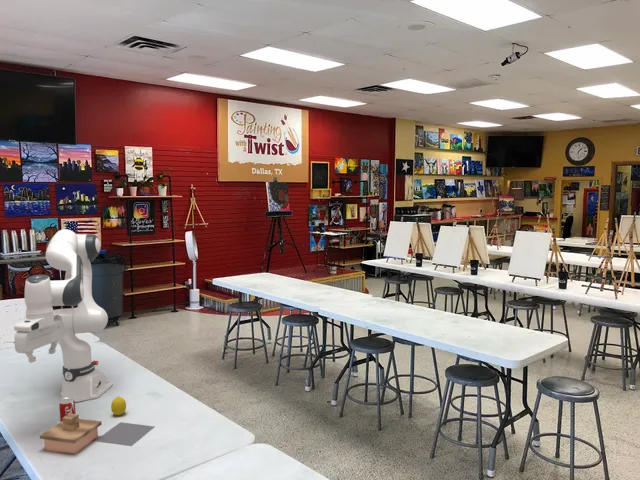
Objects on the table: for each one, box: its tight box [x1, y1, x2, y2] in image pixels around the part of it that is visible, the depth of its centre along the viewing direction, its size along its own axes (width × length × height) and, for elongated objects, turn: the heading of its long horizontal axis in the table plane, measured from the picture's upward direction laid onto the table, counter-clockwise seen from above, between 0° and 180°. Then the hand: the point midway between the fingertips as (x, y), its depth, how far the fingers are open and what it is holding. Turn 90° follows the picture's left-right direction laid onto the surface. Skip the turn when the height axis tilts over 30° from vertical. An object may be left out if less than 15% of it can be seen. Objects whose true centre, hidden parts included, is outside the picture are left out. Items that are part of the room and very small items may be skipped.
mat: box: [94, 422, 156, 447], centre depth 187 cm, size 15×15×1 cm
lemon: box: [110, 396, 127, 416], centre depth 202 cm, size 6×6×8 cm
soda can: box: [58, 397, 76, 423], centre depth 190 cm, size 5×5×12 cm
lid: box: [38, 413, 103, 444], centre depth 179 cm, size 14×14×6 cm
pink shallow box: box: [43, 428, 99, 456], centre depth 180 cm, size 12×12×5 cm
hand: (42, 357), depth 185 cm, fingers open, 8 cm apart
